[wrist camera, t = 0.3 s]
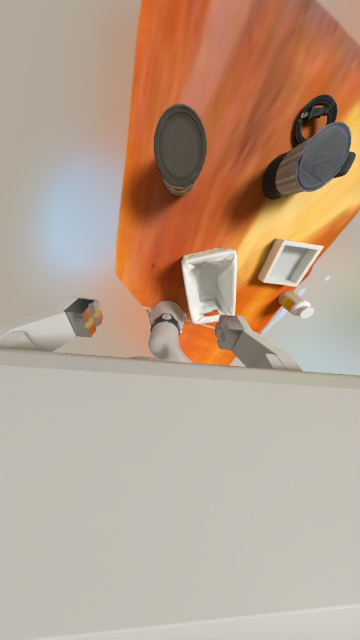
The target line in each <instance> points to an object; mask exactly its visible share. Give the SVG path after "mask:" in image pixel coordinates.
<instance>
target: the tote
mask: <svg viewBox="0 0 360 640" xmlns="http://www.w3.org/2000/svg"><path fill="white" fill-rule="evenodd" d="M323 247H324V246H319V245H314V244H308V243H301V242H295V241H288V240H282V239H275V240H274V242H273V244H272V246H271V248H270V251H269V253H268V255H267V257H266V259H265V261H264V263H263V266H262V268H261V270H260V272H259V274H258V276H257V278H258V279H259V280H260V281H262V282H264V283H272V284H280V285H288V286H296V287H297V286H298V284H299V283H300V281H301V280H302V278H303V277H304V275H305V274H306V272H307V271H308V269H309V268H310V266H311V265H312V263H313V262H314V260H315V259H316V257H317V256H318V254H319V253H320V251H321V250H322V248H323Z"/></svg>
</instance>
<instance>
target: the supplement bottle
mask: <svg viewBox="0 0 360 640" xmlns="http://www.w3.org/2000/svg"><path fill="white" fill-rule="evenodd" d="M278 302H279V304H280V305H282V306H283V307H284V308H285V309H286V310H288V311H289V312H290V313H291V314H293V315H296V316H299V317H301V318H307V317H309V316H311V315H312V314H313V313H314V309H313V308H311V307H310V303H309V302H308V301H306V300H304V299H303V298H301V297H300V296H298V295H297V294H295V293H293V292H291V291H288V292H285V293H283V294H282V295H280V297H279V299H278Z"/></svg>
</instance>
